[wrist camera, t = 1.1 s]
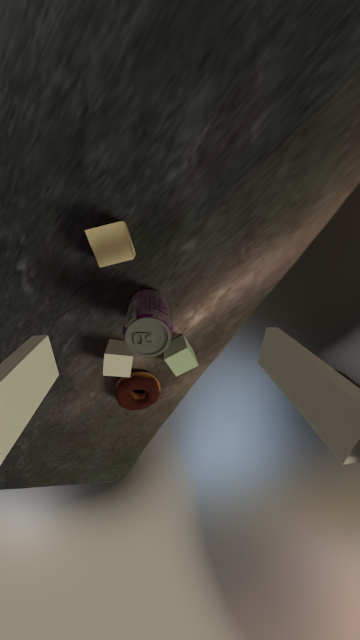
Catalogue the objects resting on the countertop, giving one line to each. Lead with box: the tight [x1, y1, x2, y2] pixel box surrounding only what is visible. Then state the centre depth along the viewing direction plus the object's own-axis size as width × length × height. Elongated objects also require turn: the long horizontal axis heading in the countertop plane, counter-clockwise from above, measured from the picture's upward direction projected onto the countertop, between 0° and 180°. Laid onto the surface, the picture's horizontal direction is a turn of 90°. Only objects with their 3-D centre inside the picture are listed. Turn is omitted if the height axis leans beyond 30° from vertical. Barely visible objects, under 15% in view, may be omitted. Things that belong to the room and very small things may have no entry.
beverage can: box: [123, 289, 173, 357], centre depth 31 cm, size 7×7×12 cm
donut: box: [115, 372, 160, 410], centre depth 43 cm, size 10×10×4 cm
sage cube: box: [163, 335, 198, 377], centre depth 39 cm, size 5×5×5 cm
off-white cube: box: [103, 339, 133, 377], centre depth 38 cm, size 5×5×5 cm
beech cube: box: [84, 221, 136, 267], centre depth 29 cm, size 5×5×5 cm
